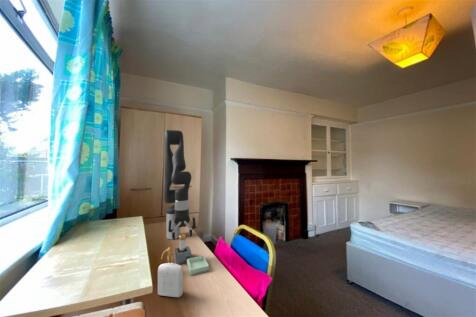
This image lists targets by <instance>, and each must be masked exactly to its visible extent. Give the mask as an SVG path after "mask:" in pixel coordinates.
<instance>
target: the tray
mask: <svg viewBox="0 0 476 317" xmlns="http://www.w3.org/2000/svg"><path fill="white" fill-rule="evenodd" d="M186 265H187V268H188V272H189V275H190V276H193V275H197V274H198V275H199V274H201V273H205V272H209V271H210V264H209V263H208V261H207V259H206V257H205V255H199V256H195V257H191V258H189V259H187V262H186Z"/></svg>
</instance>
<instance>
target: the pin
mask: <svg viewBox="0 0 476 317" xmlns="http://www.w3.org/2000/svg"><path fill="white" fill-rule="evenodd" d="M186 238H187V234H186V233H180V235H179V238H178V239H179V240H178V241H179V248H180V253H181V252H185V246H186Z"/></svg>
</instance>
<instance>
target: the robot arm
mask: <svg viewBox="0 0 476 317" xmlns="http://www.w3.org/2000/svg"><path fill="white" fill-rule="evenodd" d="M184 144H185V143H184V134H183V132H182V131H181V130H175V129H173V130H172V129H167V130H165V131H164V155H165V156H164V187H163V188H164V190H163V202H164V203H165V204H172V205H171V206H169V207H167V208H166V210H165V213H166V214H165V215H166V216H165V219H166V222H165V223H166V224H165V225H166V227H165V228H166V229H165V230H166V239H167V240H174V241H175V240H177V239H179V235H180V234H181V228H185V227H186V228H188V230H189V231H188V234H189V235H188V236H189V238H191V237H192V236H193V230H194V229H196V228H197V227H196V217H195V216H192V217H190V202H189V189H190V186H191V182H192V174H191V172H190V171H185V170H186V169H187V164H186V160H185V151H184V150H185V145H184ZM171 146H177V149H175V151H174V153H173V151H172V149H171ZM172 185H175V186H180V185H183V186H182V187H180V188H176V189H171V187H172ZM190 221H191V222H192V225H190Z"/></svg>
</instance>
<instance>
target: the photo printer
mask: <svg viewBox="0 0 476 317" xmlns="http://www.w3.org/2000/svg"><path fill="white" fill-rule="evenodd" d="M183 269H184V267H183V266H182V265H181V264H175V262H172V263H171V262H169V263H168V262H166V263H161V264H160V265H159V266H158V268H157V295H158V296H164V297H172V298H181V296H182V295H183V290H184V283H183V282H184V275H183V274H184V270H183Z"/></svg>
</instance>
